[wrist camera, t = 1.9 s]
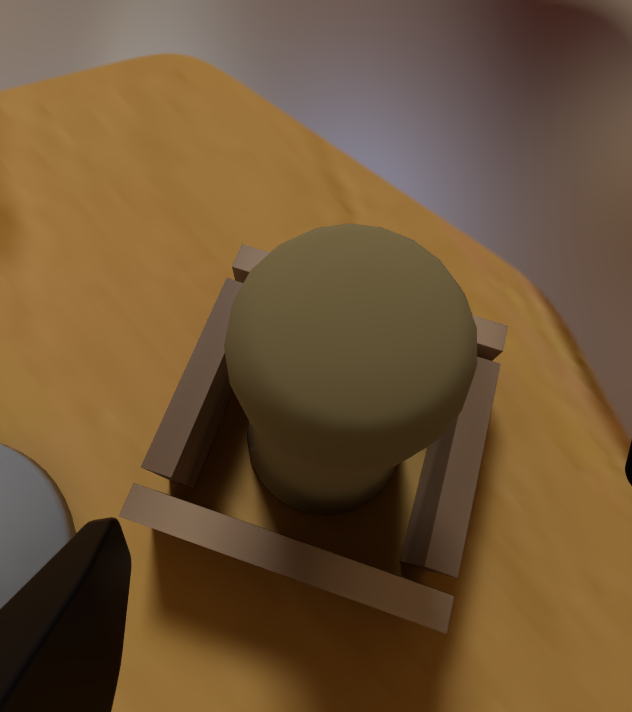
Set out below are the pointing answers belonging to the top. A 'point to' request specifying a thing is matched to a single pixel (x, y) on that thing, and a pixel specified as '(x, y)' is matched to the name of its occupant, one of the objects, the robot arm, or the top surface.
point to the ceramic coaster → (28, 520)
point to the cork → (346, 362)
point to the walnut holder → (295, 558)
